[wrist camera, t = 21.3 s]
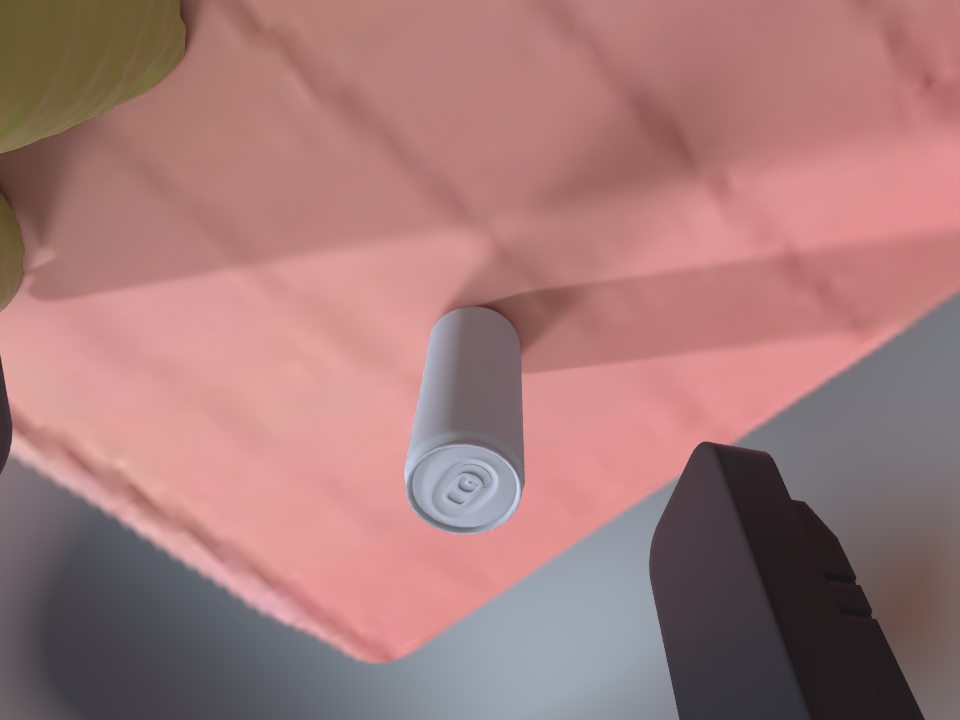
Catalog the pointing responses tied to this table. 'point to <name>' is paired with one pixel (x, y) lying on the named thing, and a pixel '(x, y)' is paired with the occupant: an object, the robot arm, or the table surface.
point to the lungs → (73, 77)
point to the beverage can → (468, 425)
